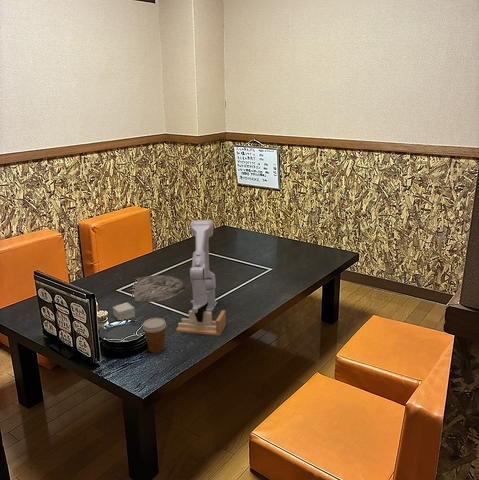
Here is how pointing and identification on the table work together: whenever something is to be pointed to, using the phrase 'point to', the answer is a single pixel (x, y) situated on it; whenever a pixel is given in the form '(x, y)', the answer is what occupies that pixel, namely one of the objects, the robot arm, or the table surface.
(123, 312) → the small box
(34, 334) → the table surface
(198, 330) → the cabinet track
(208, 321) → the door panel
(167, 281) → the grey fur rug
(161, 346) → the disposable coffee cup
